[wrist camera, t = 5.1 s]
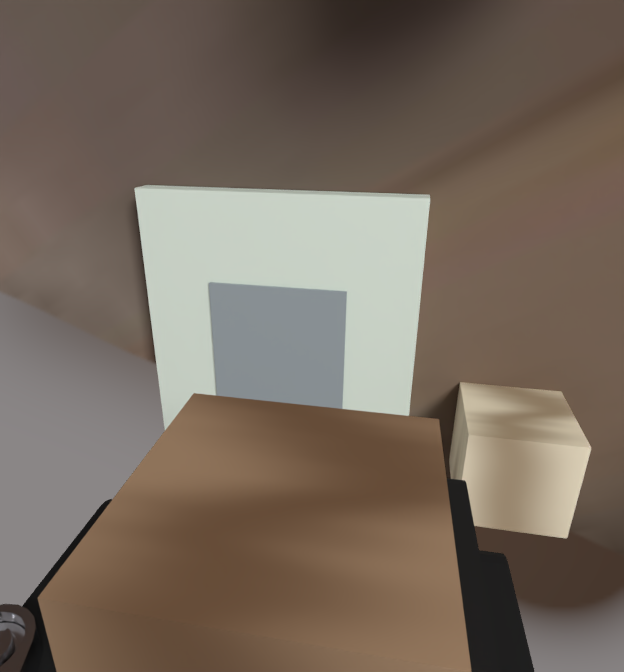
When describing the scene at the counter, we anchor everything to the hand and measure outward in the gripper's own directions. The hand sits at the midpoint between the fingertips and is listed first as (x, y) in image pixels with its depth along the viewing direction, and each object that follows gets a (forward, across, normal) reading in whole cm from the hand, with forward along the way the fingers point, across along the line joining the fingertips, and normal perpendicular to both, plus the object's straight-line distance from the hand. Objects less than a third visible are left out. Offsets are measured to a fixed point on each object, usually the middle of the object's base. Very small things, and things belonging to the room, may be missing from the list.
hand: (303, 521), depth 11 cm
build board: (+17, +4, +3) cm, 17 cm away
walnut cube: (+1, 0, 0) cm, 1 cm away
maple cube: (+16, -8, +7) cm, 20 cm away
